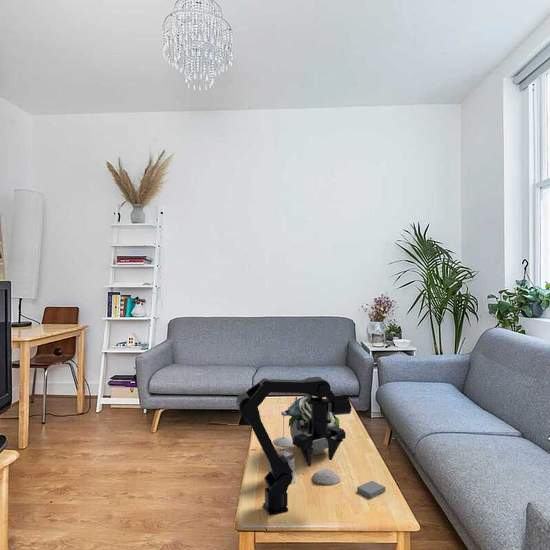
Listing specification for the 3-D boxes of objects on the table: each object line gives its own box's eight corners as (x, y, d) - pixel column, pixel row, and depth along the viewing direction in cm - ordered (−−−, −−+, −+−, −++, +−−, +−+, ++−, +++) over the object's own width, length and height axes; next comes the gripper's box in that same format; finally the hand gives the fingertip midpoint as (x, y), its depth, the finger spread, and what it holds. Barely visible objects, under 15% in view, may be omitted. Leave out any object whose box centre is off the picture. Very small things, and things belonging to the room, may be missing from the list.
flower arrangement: (309, 468, 166) (309, 406, 166) (274, 447, 186) (274, 392, 187) (355, 454, 179) (355, 397, 180) (318, 436, 200) (318, 385, 201)
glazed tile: (370, 493, 143) (385, 486, 148) (357, 486, 148) (372, 480, 152) (370, 499, 143) (385, 492, 148) (357, 492, 147) (372, 486, 152)
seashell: (305, 472, 156) (320, 458, 163) (308, 485, 157) (322, 471, 164) (329, 480, 149) (343, 465, 157) (331, 494, 150) (345, 478, 158)
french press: (295, 473, 162) (296, 407, 162) (297, 487, 150) (297, 417, 150) (270, 473, 162) (270, 407, 162) (270, 487, 150) (270, 417, 150)
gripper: (325, 405, 152) (325, 449, 152) (283, 414, 142) (282, 461, 142) (346, 413, 143) (346, 459, 143) (303, 423, 133) (303, 473, 133)
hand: (319, 463), depth 140 cm, fingers open, 9 cm apart
